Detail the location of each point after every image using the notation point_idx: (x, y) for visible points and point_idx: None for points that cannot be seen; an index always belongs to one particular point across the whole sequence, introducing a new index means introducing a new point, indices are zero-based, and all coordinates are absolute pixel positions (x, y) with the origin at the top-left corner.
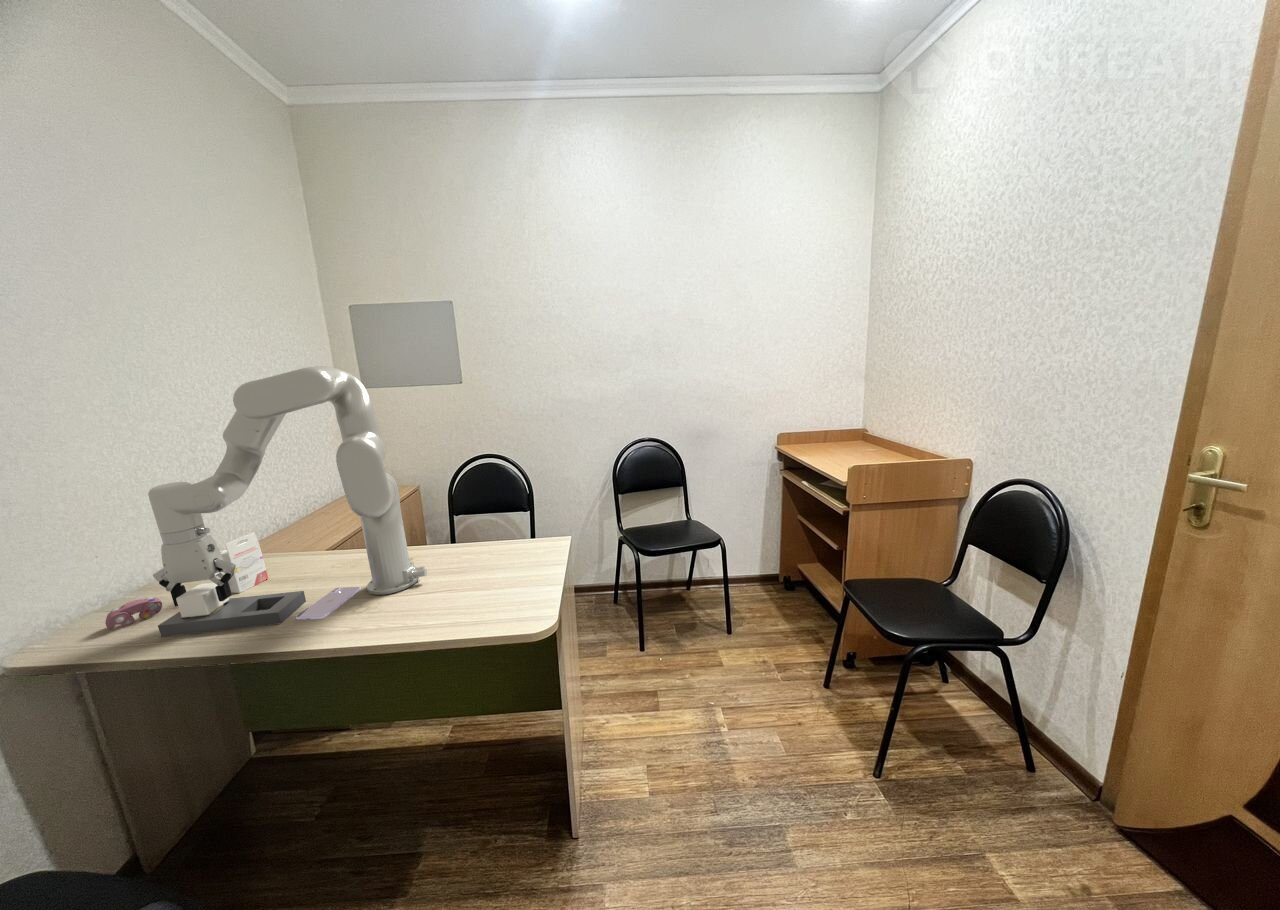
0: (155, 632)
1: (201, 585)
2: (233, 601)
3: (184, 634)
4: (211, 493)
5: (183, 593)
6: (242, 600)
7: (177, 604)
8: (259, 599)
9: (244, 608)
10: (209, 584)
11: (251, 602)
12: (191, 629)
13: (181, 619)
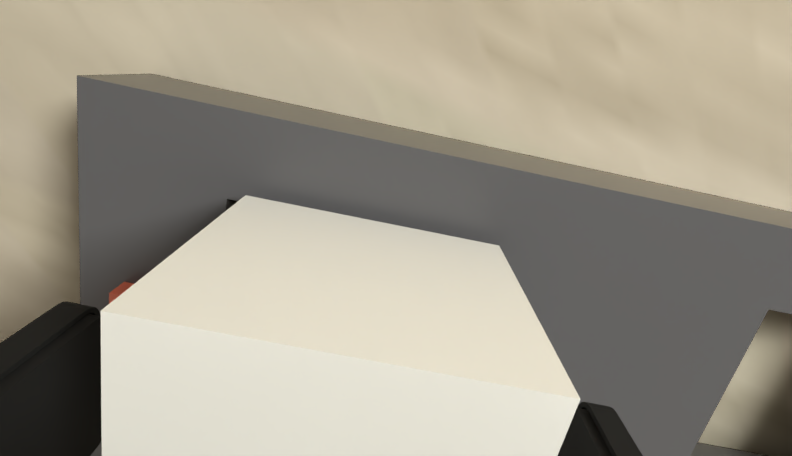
0: (37, 299)
1: (194, 394)
2: (537, 260)
3: None
4: None
5: (18, 432)
6: (621, 274)
7: (87, 451)
8: (775, 310)
9: (682, 451)
10: (342, 422)
11: (718, 359)
12: None
13: None
